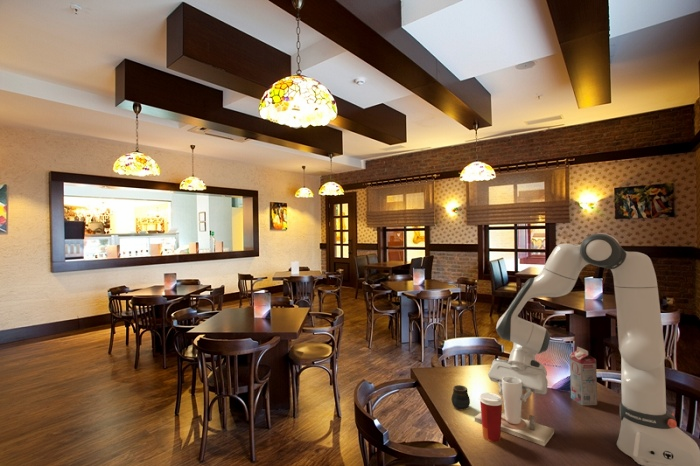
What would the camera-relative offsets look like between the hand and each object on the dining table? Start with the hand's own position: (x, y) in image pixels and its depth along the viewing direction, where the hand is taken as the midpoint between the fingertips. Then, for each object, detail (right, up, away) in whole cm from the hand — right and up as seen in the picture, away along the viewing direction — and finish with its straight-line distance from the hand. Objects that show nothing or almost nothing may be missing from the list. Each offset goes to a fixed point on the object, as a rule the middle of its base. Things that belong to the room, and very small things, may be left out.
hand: (512, 397), depth 130 cm
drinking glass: (+1, -9, 0) cm, 9 cm away
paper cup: (-10, -11, -6) cm, 16 cm away
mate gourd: (-14, -12, +16) cm, 24 cm away
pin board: (+1, -11, 0) cm, 11 cm away
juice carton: (+39, -11, +20) cm, 45 cm away
